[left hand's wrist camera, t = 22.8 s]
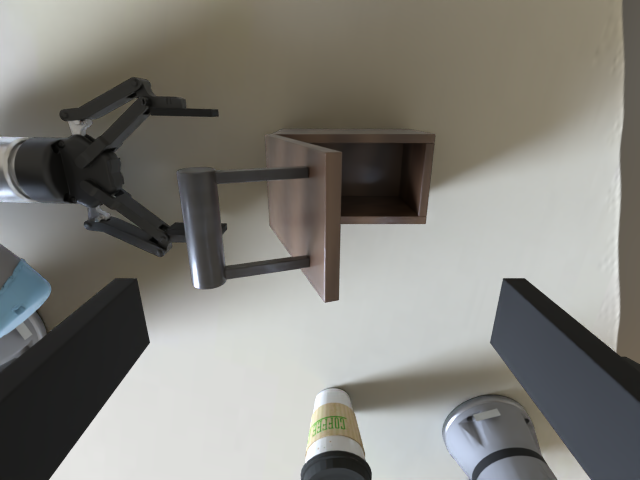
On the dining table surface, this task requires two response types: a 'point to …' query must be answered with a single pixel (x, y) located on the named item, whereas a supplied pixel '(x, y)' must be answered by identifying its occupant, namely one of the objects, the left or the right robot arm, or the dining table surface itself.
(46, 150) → the right robot arm
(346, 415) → the coffee cup
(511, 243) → the dining table surface
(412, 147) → the chest
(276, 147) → the panel with cylinder handle
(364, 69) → the dining table surface
